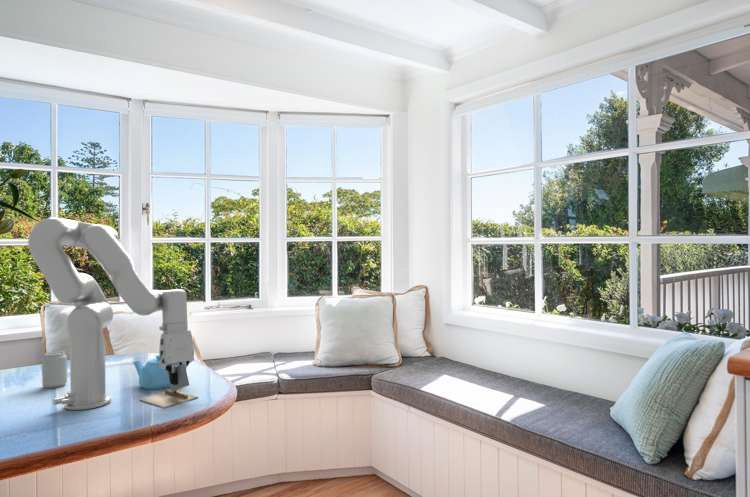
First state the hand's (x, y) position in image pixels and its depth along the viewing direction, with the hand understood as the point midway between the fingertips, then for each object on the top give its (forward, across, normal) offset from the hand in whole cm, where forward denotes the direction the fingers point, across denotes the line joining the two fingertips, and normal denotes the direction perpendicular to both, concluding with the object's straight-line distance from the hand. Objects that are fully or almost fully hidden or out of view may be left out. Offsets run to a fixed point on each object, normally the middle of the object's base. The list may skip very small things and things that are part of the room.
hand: (177, 383), depth 158 cm
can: (+4, -17, +51) cm, 54 cm away
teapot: (+5, +5, +20) cm, 21 cm away
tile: (+2, 0, -2) cm, 3 cm away
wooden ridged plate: (+5, -3, +1) cm, 6 cm away
